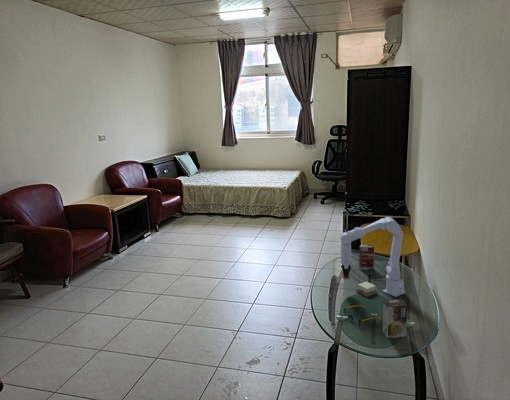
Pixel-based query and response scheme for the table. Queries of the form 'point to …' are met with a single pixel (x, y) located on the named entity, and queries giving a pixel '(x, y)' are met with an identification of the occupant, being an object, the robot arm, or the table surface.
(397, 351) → the table surface
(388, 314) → the coffee box
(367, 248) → the supplement box
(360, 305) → the eyeglasses
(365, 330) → the table surface
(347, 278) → the salmon pink cylinder
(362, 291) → the walnut base slab
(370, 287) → the sage top slab
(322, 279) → the table surface
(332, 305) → the table surface
